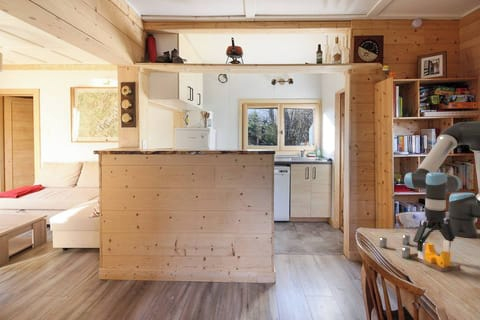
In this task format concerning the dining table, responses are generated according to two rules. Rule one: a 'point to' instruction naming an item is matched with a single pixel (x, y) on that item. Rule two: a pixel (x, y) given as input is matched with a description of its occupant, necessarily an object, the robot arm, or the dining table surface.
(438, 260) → the pipe clamp
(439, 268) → the board
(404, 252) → the spacers
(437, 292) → the dining table surface
